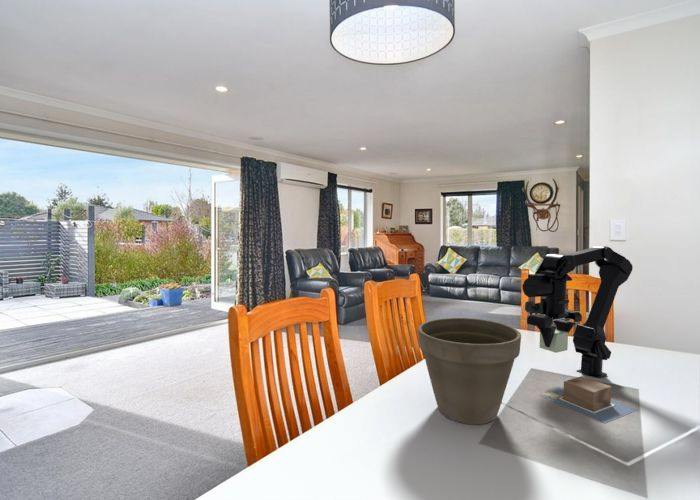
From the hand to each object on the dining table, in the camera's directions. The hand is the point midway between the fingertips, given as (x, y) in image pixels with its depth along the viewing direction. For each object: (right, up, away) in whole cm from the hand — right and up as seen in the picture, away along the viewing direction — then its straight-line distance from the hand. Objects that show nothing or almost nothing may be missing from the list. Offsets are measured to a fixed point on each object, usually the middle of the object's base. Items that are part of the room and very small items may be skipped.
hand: (553, 345), depth 122 cm
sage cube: (0, -1, 0) cm, 1 cm away
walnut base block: (+1, -12, -15) cm, 19 cm away
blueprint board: (+1, -12, -15) cm, 20 cm away
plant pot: (-33, -12, -20) cm, 40 cm away
